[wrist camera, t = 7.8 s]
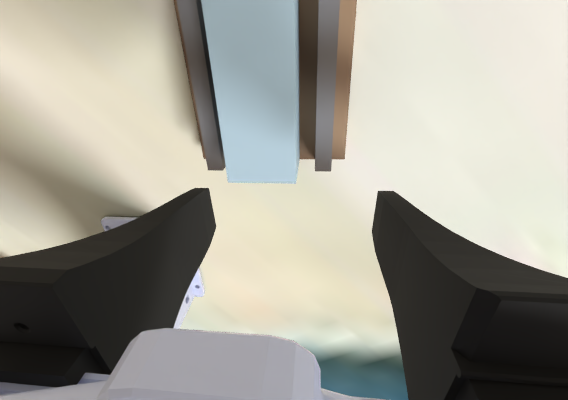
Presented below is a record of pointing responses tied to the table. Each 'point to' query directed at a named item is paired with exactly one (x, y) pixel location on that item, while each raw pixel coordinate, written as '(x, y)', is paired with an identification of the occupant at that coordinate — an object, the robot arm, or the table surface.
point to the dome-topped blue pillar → (256, 86)
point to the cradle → (312, 78)
